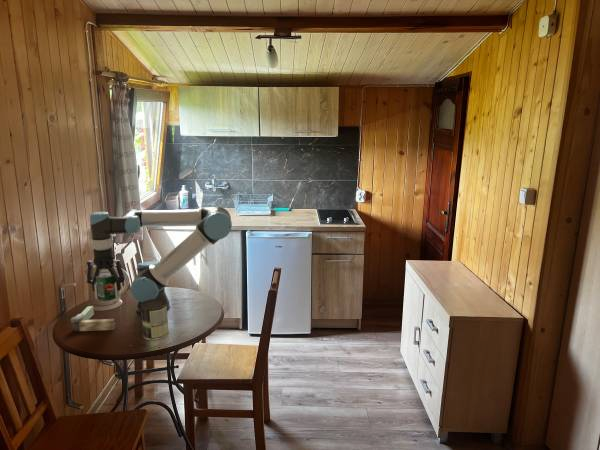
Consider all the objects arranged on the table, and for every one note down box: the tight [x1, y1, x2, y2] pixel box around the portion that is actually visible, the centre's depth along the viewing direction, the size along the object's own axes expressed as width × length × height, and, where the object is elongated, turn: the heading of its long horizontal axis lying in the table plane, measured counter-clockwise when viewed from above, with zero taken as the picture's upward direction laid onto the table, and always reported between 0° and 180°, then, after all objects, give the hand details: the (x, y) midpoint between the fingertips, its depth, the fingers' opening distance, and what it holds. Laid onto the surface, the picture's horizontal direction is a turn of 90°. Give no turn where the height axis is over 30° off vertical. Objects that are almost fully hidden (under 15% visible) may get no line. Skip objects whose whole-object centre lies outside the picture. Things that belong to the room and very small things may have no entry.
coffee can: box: [140, 299, 169, 341], centre depth 182 cm, size 10×10×14 cm
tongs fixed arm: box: [71, 318, 116, 332], centre depth 188 cm, size 17×3×4 cm, turn 94°
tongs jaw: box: [70, 305, 95, 324], centre depth 193 cm, size 18×4×5 cm, turn 4°
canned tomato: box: [96, 271, 117, 302], centre depth 190 cm, size 8×8×11 cm
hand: (107, 297), depth 192 cm, fingers closed on canned tomato, 8 cm apart
